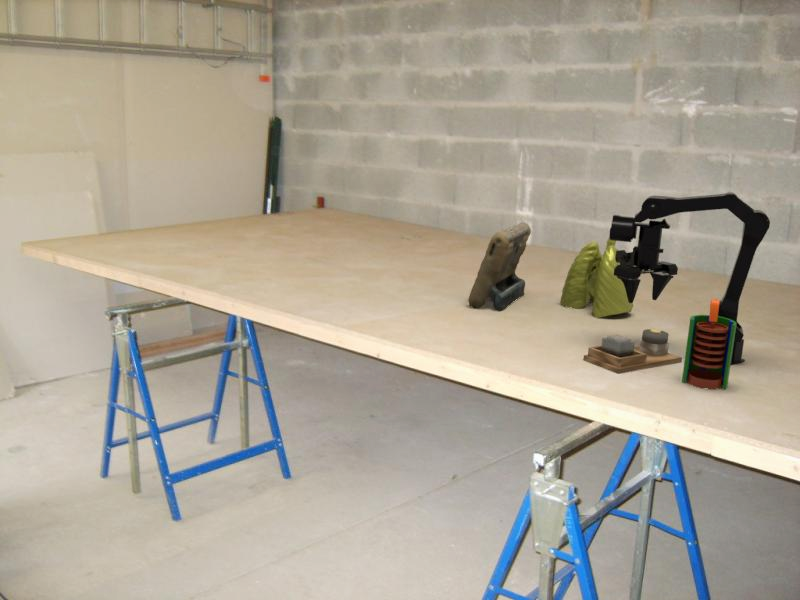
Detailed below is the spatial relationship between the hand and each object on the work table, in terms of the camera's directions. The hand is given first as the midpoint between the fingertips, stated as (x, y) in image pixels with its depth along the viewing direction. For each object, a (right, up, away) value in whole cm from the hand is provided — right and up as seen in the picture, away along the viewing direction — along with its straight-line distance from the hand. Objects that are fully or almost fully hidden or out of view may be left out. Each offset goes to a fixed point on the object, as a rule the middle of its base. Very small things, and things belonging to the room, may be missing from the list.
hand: (642, 301), depth 219 cm
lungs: (-2, -3, +45) cm, 45 cm away
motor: (+7, -20, -24) cm, 32 cm away
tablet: (-33, 0, +52) cm, 61 cm away
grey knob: (+1, -13, -5) cm, 14 cm away
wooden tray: (-5, -15, -9) cm, 19 cm away
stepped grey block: (-10, -15, -12) cm, 22 cm away
